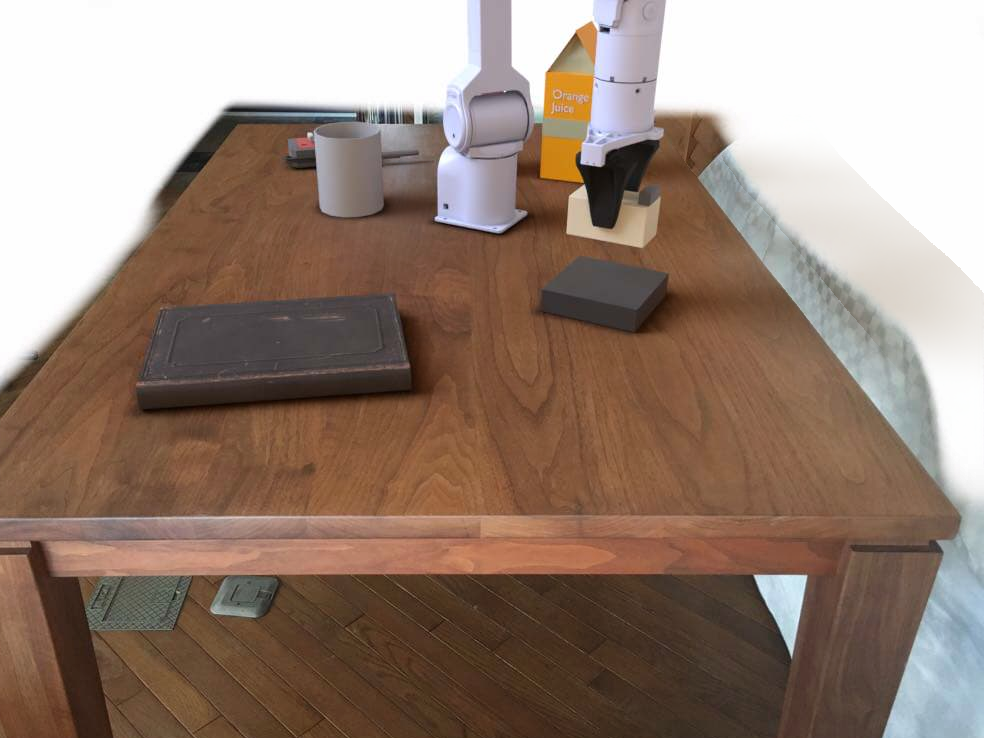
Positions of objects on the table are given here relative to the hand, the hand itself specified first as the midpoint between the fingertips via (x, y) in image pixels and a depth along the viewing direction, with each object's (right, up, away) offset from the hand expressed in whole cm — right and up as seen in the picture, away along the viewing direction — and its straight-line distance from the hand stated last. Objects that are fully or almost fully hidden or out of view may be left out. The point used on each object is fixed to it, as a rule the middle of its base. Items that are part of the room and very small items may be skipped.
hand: (611, 219), depth 90 cm
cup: (-29, +8, +30) cm, 42 cm away
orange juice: (+2, +15, +42) cm, 45 cm away
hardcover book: (-32, -14, -6) cm, 35 cm away
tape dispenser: (0, -1, +1) cm, 2 cm away
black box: (0, -8, +4) cm, 9 cm away
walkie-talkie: (-31, +19, +47) cm, 60 cm away
